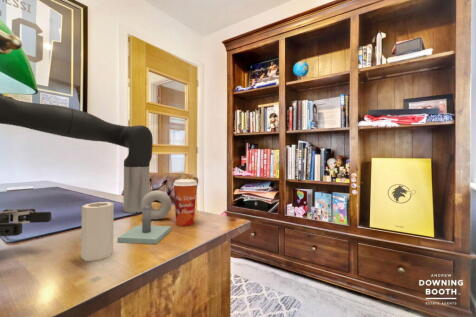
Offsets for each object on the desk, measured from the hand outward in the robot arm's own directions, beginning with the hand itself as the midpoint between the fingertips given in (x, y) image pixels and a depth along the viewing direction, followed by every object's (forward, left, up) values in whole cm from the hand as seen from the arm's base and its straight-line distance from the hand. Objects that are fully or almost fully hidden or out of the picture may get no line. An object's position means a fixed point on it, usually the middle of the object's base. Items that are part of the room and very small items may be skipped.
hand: (37, 222), depth 46 cm
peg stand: (-15, +16, -8) cm, 23 cm away
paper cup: (-27, +23, -8) cm, 36 cm away
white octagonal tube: (-3, +11, -8) cm, 14 cm away
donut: (-30, +12, -8) cm, 33 cm away
